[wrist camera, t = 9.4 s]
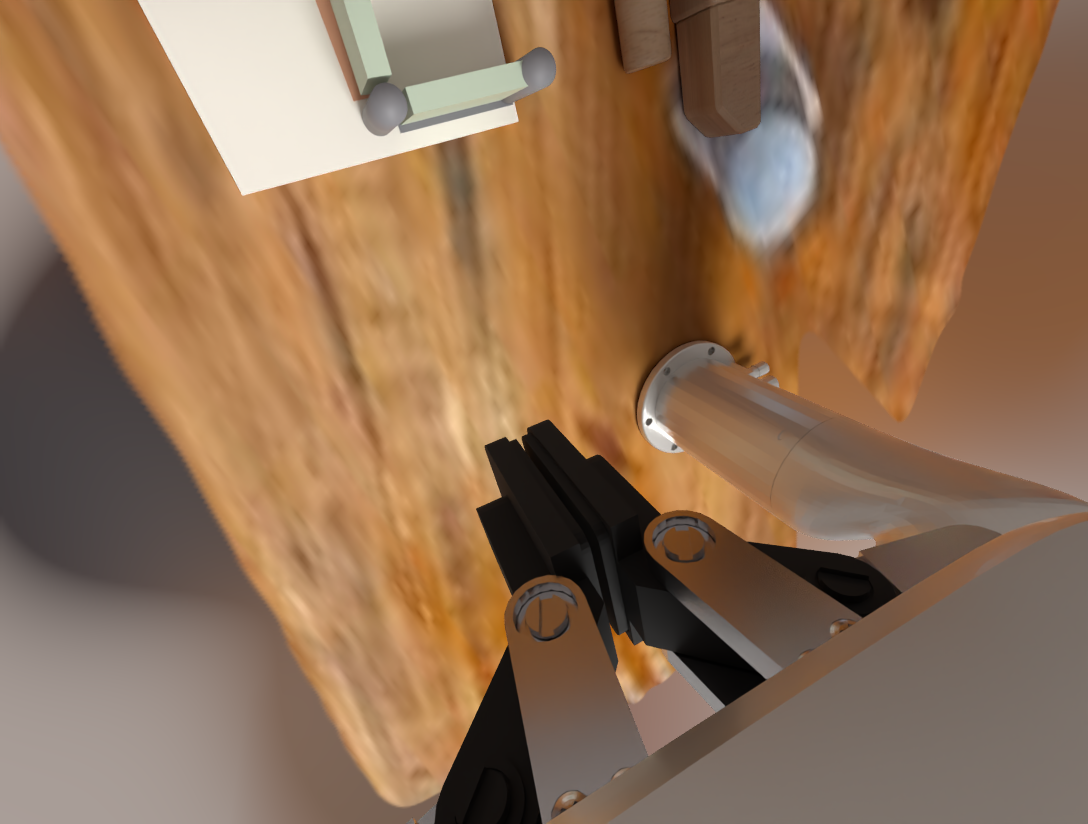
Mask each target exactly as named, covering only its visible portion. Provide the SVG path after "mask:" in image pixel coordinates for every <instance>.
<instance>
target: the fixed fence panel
mask: <svg viewBox="0 0 1088 824" xmlns="http://www.w3.org/2000/svg"><path fill="white" fill-rule="evenodd" d="M555 75H556V64H555V60H554V58H553V56H552V54H551V53H550V52H549V51H548V50H547V49H545V48H542V47H538V48H535V49H533V50H532V51H530V52H529V53H527V54H526V55H524V56H523V57H521V58H520V59H519V60H517V61H516V62H513V63H508V64H504V65H500V66H495V67H491V68H487V69H482V70H478V71H474V72H469V73H465V74H461V75H456V76H452V77H448V78H443V79H439V80H435V81H431V82H426V83H422V84H418V85H413V86H409V87H405V88H404V90H403V91H401V90H400V89H399V88H398V87H396V86H395V85H393V84H391V83H386V82H384V83H380V84H378V85H376V86H375V87H374V88H373V90H372V92H371V94H370V96H369V98H368V100H367V102H366V104H365V106H364V108H363V111H362V119H363V123H364V125H365V127H366V128H367V129H368V131H370V132H371V133H372V134H374V135H376V136H385V135H387V134H388V133H390V132H391V131H392V130H393V129H394V128H395V127H397V126H398V125H399V124H401V125H404V124H408V123H412V122H416V121H420V120H424V119H428V118H432V117H436V116H440V115H444V114H448V113H452V112H456V111H460V110H464V109H468V108H472V107H476V106H480V105H484V104H488V103H492V102H496V101H500V100H501V101H502V102H504V103H507V104H510V103H513V102H515V101H517V100H519V99H522V98H524V97H526V96H528V95H530V94H532V93H534V92H537V91H539V90H541V89H543V88H545V87H547V86H549V85H550V84H551V83H552V82H553V80H554V78H555Z"/></svg>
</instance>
